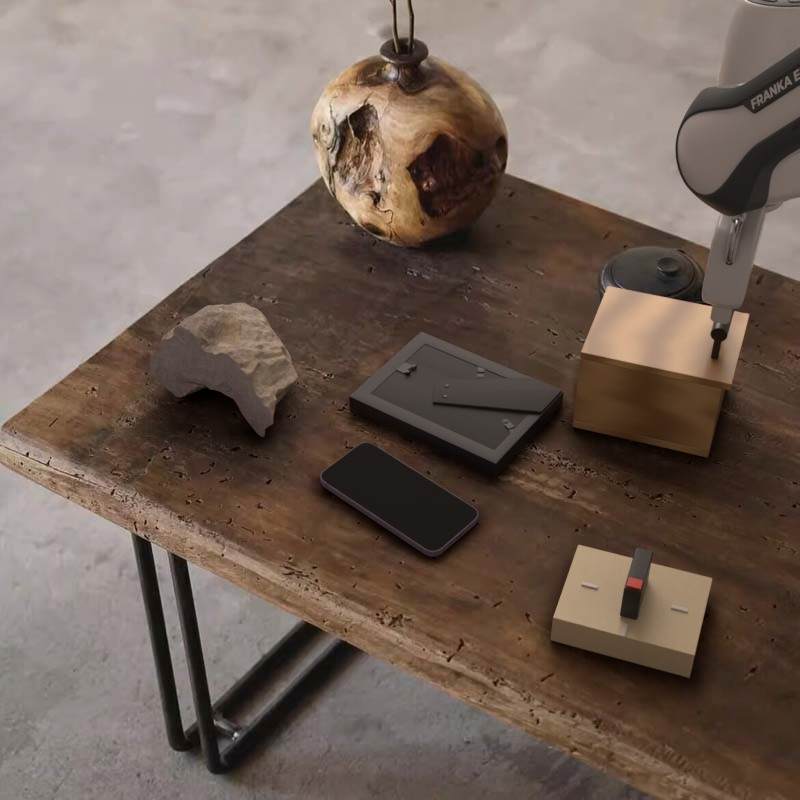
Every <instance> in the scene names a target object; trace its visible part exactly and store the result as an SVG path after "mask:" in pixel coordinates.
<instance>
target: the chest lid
mask: <svg viewBox="0 0 800 800" xmlns="http://www.w3.org/2000/svg"><path fill="white" fill-rule="evenodd" d="M711 311H712V305H707V304H701V303H696V302H691V301H686V300H680V299H676V298H671V297H665V296H662V295H655V294H652V293H646V292H640V291H635V290H631V289H625V288H621V287H620V288H619V287H615V286H610V285H607V286H606V289H605V291H604V293H603V295H602V299H601V301H600V304H599V306H598V308H597V312H596V314H595V315H594V318H593V321H592V323H591V326H590V328H589V331H588V334H587V335H586V338H585V341H584V342H583V343H584V344H583V346H582V348H581V351H580V356H579V359H580V358H581V359H585V360H590V361H595V362H599V363H604V364H609V365H613V366H618V367H623V368H627V369H632V370H637V371H641V372H646V373H651V374H655V375H660V376H665V377H669V378H674V379H679V380H683V381H688V382H693V383H698V384H702V385H707V386H712V387H716V388H721V389H726V390H725V391H731V390H732V386H733V382H734V379H735V374H736V371H737V370H736V369H737V367H738V362H739V358H740V354H741V350H742V347H743V343H744V339H745V336H746V332H747V327H748V323H749V320H750V316H751V315H750V313H747V312H742V311H737V310H736V309H733V310H732V314H731V318H730V322H729V323H727V324H722V323H717V322H713V321H712V320H711V318H710V316H711Z"/></svg>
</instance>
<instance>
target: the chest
mask: <svg viewBox="0 0 800 800" xmlns="http://www.w3.org/2000/svg"><path fill="white" fill-rule="evenodd" d="M577 373H578V374H577V383H576V391H575V401H574V409H573V417H572V427H573V428H576V429H579V430H584V431H590V432H592V433H593V432H594V433H598V434H601V435H607V436H610V437H611V436H612V437H614V438H615V437H616V438H620V439H624V440H628V441H633V442H637V443H641V444H646V445H650V446H655V447H658V448H659V447H660V448H664V449H669V450H673V451H677V452H680V453H686V454H690V455H695V456H698V457H703V458H709V454H710V451H711V446H712V443H713V439H714V436H715V432H716V427H717V424H718V421H719V416H720V414H721V413H720V412H721V409H722V404H723V401H724V397H725V394H726V391H727V390H726V389H721V388H716V387H712V386H707V385H702V384H698V383H693V382H688V381H683V380H679V379H674V378H669V377H665V376H660V375H655V374H651V373H646V372H641V371H637V370H632V369H627V368H623V367H618V366H613V365H609V364H604V363H599V362H595V361H590V360H585V359H581V358H580V357H579V365H578V372H577Z"/></svg>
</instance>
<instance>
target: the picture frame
mask: <svg viewBox="0 0 800 800" xmlns="http://www.w3.org/2000/svg"><path fill="white" fill-rule="evenodd" d="M564 393H565V390H563V389H561V388H559V387H556V386H554V385H552V384H549V383H546V382H545V381H542V380H540V379H537V378H535V377H532V376H528V375H526V374H524V373H522V372H519V371H516V370H515V369H512V368H509V367H507V366H505V365H502V364H500V363H498V362H495V361H492V360H491V359H488V358H485V357H483V356H481V355H478V354H477V353H474V352H471V351H470V350H466V349H464V348H463V347H459V346H457V345H455V344H452V343H450V342H447V341H445V340H442V339H440V338H438V337H435V336H433V335H430V334H428V333H427V332H425V331H424V332H423V331H420V332H419V333H418V334H417V335H416V336H414V337H413V338H412V339H411V340H410V341H409V342H408V343H406V344H405V345H404V346H403V347H402V348H401V349H400V350H399V351H398V352H396V353H395V354H394V355H393V356H392V357H391V358H390V359H389V360H388V361H387V362H385V363H384V364H383V365H382V366H381V367H380V368H379V369H378V370H377V371H375V372H374V373H373V374H372V375H371V376H370V377H369V378H368V379H366V380H365V381H364V382H363V383H362V384H361V385H360V386H358V388H357V389H355V390H354V391H353V392H352V393H351V394H350V395H349V396H348V399H349V400H348V402H349V403H348V404H349V411H350V412H352V413H355V414H357V415H359V416H362V417H364V418H365V419H367V420H370V421H372V422H374V423H376V424H379V425H381V426H383V427H384V428H387V429H389V430H390V431H394V433H395V432H396V433H398V434H400V435H402V436H403V437H404V436H405V437H406V438H408V439H411V440H413V441H415V442H417V443H419V444H421V445H423V446H426V447H428V448H430V449H432V450H435V451H436V452H438V453H440V454H442V455H444V456H446V457H449V458H451V459H453V460H455V461H458V462H460V463H462V464H464V465H466V466H469V467H471V468H472V469H475V470H477V471H480V472H481V473H482V474H483V473H484V474H486V475H488V476H490V477H492V478H494V479H495V478H496V477H498V475H499V474H500V473H501V472H502V471H503V470H504V469H505V468H506V467H507V466H508V464H509V463H510V462H511V461H512V460H513V459H514V458H515V457H516V456H517V455H518V454H519V453H520V451H522V449H523V448H524V447H525V446H526V445H527V444H528V443H529V442H530V441H531V440H532V439H533V437H534V436H535V435H537V434H538V432H539V431H540V430H541V429H542V428H543V427H544V426H545V424H546V423H547V422H549V420H550V419H551V418H552V417H553V416H554V415H555V414H556V413H557V412H558V411H559V410H560V409H561V407H562V406H563V402H564Z"/></svg>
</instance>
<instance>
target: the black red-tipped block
mask: <svg viewBox="0 0 800 800" xmlns="http://www.w3.org/2000/svg"><path fill="white" fill-rule="evenodd" d="M653 556H654V552H653V551H652V550H649V549H645V548H640V547H635V549H634V554H633V557H632V558H633V560H632V563H631V566H630V570H629V573H628V577H627V580H626V583H625V587H624V592H623V598H622V604H621V610H620V616H622V617H626V618H630V619H634V620H637V618H638V615H639V611H640V607H641V604H642V600H643V597H644V593H645V589H646V586H647V582H648V578H649V573H650V567H651V563H653Z"/></svg>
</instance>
